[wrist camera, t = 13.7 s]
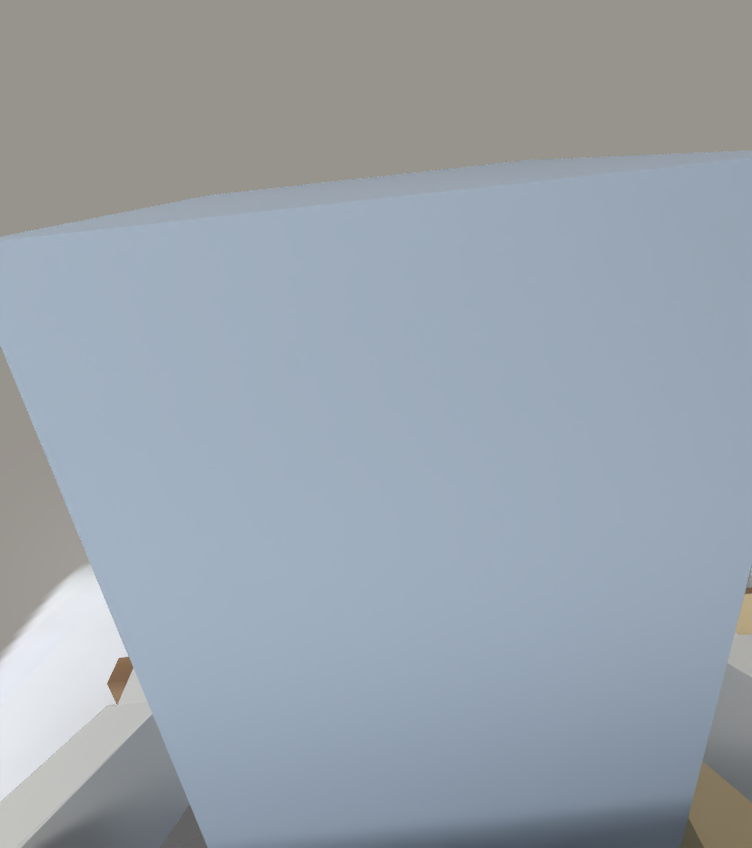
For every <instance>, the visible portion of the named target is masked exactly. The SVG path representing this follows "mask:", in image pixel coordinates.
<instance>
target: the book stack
mask: <svg viewBox="0 0 752 848" xmlns="http://www.w3.org/2000/svg"><path fill="white" fill-rule="evenodd" d="M735 631H736V632H737V633H738V634H739V635H746V634H750V635H752V593H751V594H744V598H743V602H742V606H741V610H740V614H739V618H738V622H737V626H736V630H735ZM681 848H752V803H751V802H750V801H749V800H748V799H747V798H745V797H744V796H743V795H742V794H741V793H740V792H738V791H737V790H736V789H735V788H734V787H732V786H731V785H730V784H729V783H728V782H727V781H725V780H724V779H723V778H722V777H721V776H720V775H718V774H717V773H716V772H715V771H714V770H712V769H711V768H710V767H709V766H708V765H707V764H705V763H704V762H703V761H702V765H701V769H700V773H699V777H698V781H697V785H696V789H695V793H694V796H693V800H692V804H691V808H690V812H689V816H688V820H687V824H686V828H685V832H684V836H683V840H682V844H681Z"/></svg>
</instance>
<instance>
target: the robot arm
mask: <svg viewBox="0 0 752 848" xmlns="http://www.w3.org/2000/svg"><path fill="white" fill-rule="evenodd" d="M703 762H704V763H705V764H707V765H708V766H709V767H710V768H711V769H712V770H714V771H715V772H716V773H717V774H718V775H720V776H721V777H722V778H723V779H724V780H725V781H727V782H728V783H729V784H730V785H731V786H732V787H734V788H735V789H736V790H737V791H738V792H740V793H741V794H742V795H743V796H744V797H745V798H747V799H748V800H749V801H750V802H751V803H752V635H750V634H746V635H739V634H738V633H737V632H736V631H735V634H734V638H733V642H732V646H731V650H730V654H729V658H728V662H727V666H726V670H725V674H724V678H723V682H722V686H721V690H720V693H719V697H718V701H717V705H716V709H715V713H714V717H713V721H712V725H711V729H710V733H709V737H708V741H707V745H706V749H705V753H704V757H703ZM188 806H189V801H188V799H187V796H186V794H185V791H184V789H183V787H182V784H181V782H180V779H179V777H178V774H177V772H176V770H175V767H174V765H173V762H172V760H171V757H170V755H169V753H168V750H167V748H166V745H165V743H164V741H163V738H162V736H161V733H160V731H159V728H158V726H157V724H156V721H155V719H154V716H153V714H152V711H151V709H150V707H149V704H148V702H147V699H146V697H145V694H144V692H143V690H142V687H141V685H140V682H139V680H138V678H137V675H136V673H135V670H134V668H133V670H132V672H131V675H130V677H129V679H128V682H127V684H126V686H125V689H124V691H123V693H122V695H121V698H120V700H119V702H118V705H111V706H107V707H106V708H105V709H103V710H102V711H101V712H100V713H99V714H98V715H97V716H96V717H95V718H93V719H92V720H91V721H90V722H89V723H88V724H87V725H86V726H85V727H83V728H82V729H81V730H80V731H79V732H78V733H77V734H76V735H74V736H73V737H72V738H71V739H70V740H69V741H68V742H67V743H66V744H64V745H63V746H62V747H61V748H60V749H59V750H58V751H57V752H56V753H54V754H53V755H52V756H51V757H50V758H49V759H48V760H47V761H46V762H44V763H43V764H42V765H41V766H40V767H39V768H38V769H37V770H36V771H34V772H33V773H32V774H31V775H30V776H29V777H28V778H27V779H26V780H24V781H23V782H22V783H21V784H20V785H19V786H18V787H17V788H15V789H14V790H13V791H12V792H11V793H10V794H9V795H8V796H7V797H5V798H4V799H3V800H2V801H1V802H0V848H160V846H161V845H162V843H163V842H164V840H165V839H166V837H167V836H168V835H169V833H170V832H171V830H172V829H173V827H174V826H175V825H176V823H177V822H178V820H179V819H180V817H181V816H182V815H183V813H184V812H185V810H186V809H187V807H188Z"/></svg>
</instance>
